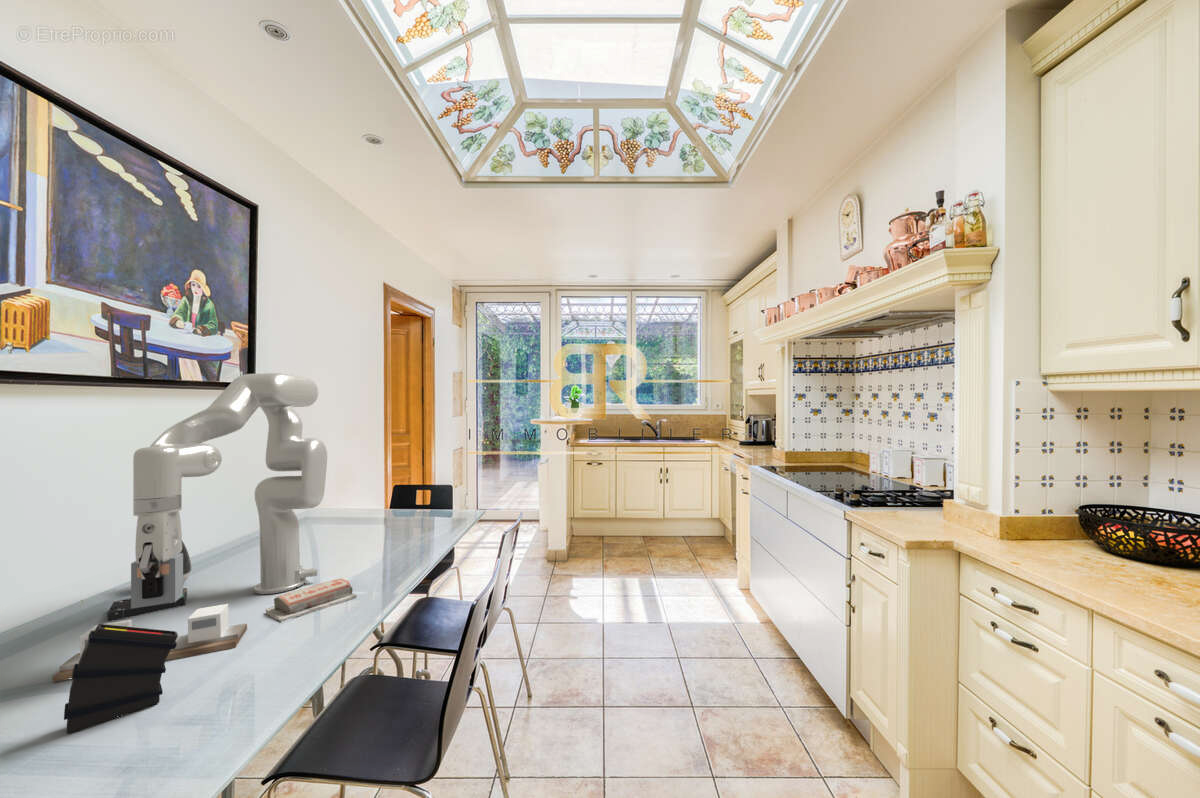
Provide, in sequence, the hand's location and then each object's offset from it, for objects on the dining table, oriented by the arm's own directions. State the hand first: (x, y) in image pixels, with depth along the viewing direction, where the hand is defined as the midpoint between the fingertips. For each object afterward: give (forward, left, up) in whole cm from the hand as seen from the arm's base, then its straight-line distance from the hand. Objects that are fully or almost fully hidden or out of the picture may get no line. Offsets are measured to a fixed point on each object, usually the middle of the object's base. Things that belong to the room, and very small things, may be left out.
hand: (158, 592), depth 101 cm
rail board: (0, 0, -13) cm, 13 cm away
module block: (0, 0, -2) cm, 2 cm away
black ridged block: (-3, +24, -13) cm, 27 cm away
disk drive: (+13, -35, -13) cm, 40 cm away
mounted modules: (0, 0, -11) cm, 11 cm away
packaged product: (-26, -14, -13) cm, 33 cm away
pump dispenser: (+15, -54, -13) cm, 58 cm away
